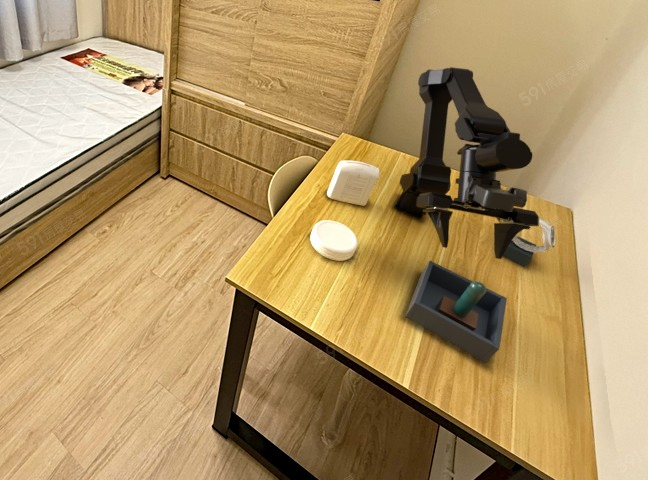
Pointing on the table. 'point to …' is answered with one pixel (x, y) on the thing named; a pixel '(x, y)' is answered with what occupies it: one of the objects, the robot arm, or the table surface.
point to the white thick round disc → (333, 240)
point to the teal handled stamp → (463, 306)
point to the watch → (530, 245)
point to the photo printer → (353, 182)
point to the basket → (422, 311)
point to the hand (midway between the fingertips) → (471, 252)
